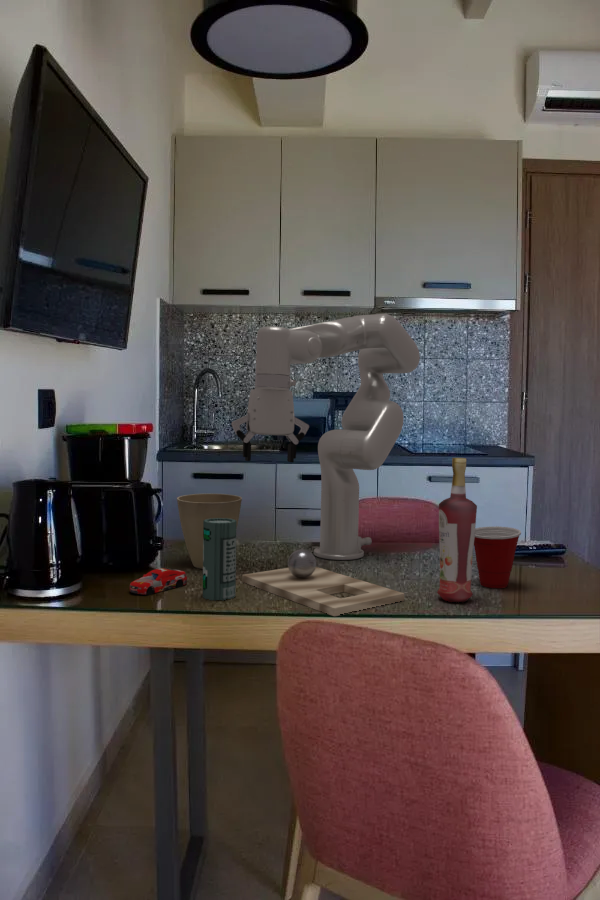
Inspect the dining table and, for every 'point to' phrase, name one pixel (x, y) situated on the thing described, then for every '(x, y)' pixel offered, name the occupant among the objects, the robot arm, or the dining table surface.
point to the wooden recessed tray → (323, 590)
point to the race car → (158, 581)
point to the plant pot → (204, 518)
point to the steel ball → (301, 563)
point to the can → (219, 558)
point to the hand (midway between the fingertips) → (269, 461)
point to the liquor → (456, 538)
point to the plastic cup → (495, 554)
